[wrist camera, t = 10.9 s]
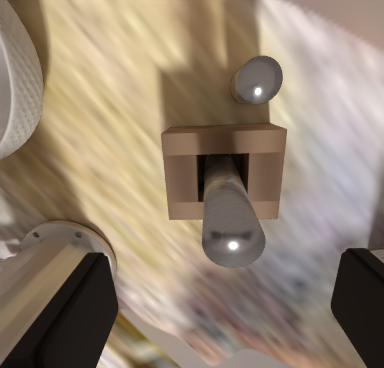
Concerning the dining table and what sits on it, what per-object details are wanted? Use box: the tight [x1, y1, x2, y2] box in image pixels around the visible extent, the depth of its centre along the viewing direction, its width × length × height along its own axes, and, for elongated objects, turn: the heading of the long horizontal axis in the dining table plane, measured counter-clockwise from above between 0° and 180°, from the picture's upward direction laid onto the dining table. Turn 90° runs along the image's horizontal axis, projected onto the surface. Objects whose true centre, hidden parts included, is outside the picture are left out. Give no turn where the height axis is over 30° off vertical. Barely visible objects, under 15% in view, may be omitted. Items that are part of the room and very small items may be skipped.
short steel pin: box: [230, 56, 283, 104], centre depth 18 cm, size 3×3×6 cm
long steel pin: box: [202, 154, 265, 268], centre depth 17 cm, size 3×3×14 cm
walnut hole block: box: [161, 123, 287, 220], centre depth 21 cm, size 10×8×5 cm
